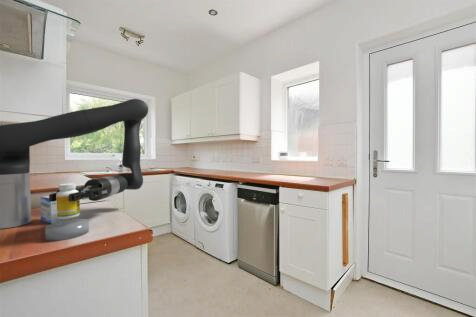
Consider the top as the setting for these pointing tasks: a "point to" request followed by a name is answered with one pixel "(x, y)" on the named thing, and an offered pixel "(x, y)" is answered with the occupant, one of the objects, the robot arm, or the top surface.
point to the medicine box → (49, 211)
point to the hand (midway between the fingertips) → (60, 198)
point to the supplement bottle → (67, 202)
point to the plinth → (66, 229)
